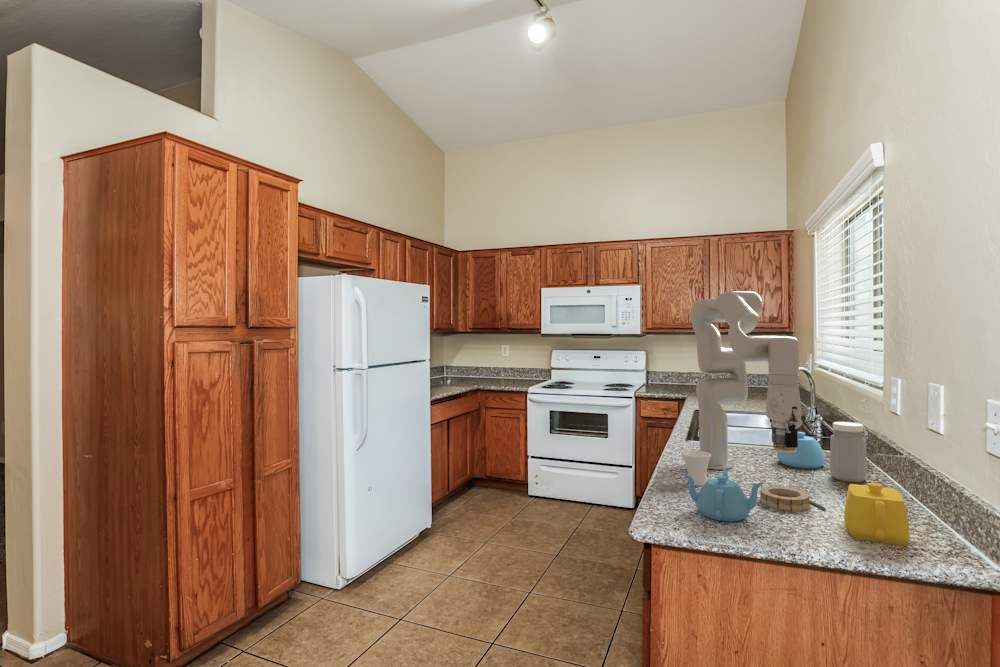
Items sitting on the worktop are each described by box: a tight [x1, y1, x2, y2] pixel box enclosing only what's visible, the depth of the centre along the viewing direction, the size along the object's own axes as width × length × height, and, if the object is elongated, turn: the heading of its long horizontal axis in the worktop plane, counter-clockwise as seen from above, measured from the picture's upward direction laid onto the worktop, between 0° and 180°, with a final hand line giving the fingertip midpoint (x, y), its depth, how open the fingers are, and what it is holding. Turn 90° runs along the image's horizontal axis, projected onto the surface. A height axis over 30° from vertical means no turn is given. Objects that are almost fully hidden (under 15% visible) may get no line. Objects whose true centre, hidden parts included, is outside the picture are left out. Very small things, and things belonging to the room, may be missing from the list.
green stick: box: [809, 499, 827, 511], centre depth 147 cm, size 13×1×1 cm, turn 2°
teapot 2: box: [843, 482, 910, 547], centre depth 126 cm, size 20×12×12 cm, turn 151°
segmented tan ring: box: [759, 485, 810, 512], centre depth 147 cm, size 12×12×3 cm
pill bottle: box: [772, 420, 796, 453], centre depth 147 cm, size 6×6×10 cm
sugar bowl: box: [776, 431, 826, 470], centre depth 189 cm, size 15×15×12 cm
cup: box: [681, 449, 711, 487], centre depth 166 cm, size 9×9×10 cm
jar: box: [829, 421, 868, 483], centre depth 170 cm, size 10×10×18 cm
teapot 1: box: [682, 469, 765, 523], centre depth 139 cm, size 15×15×10 cm
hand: (784, 444), depth 147 cm, fingers closed on pill bottle, 5 cm apart
